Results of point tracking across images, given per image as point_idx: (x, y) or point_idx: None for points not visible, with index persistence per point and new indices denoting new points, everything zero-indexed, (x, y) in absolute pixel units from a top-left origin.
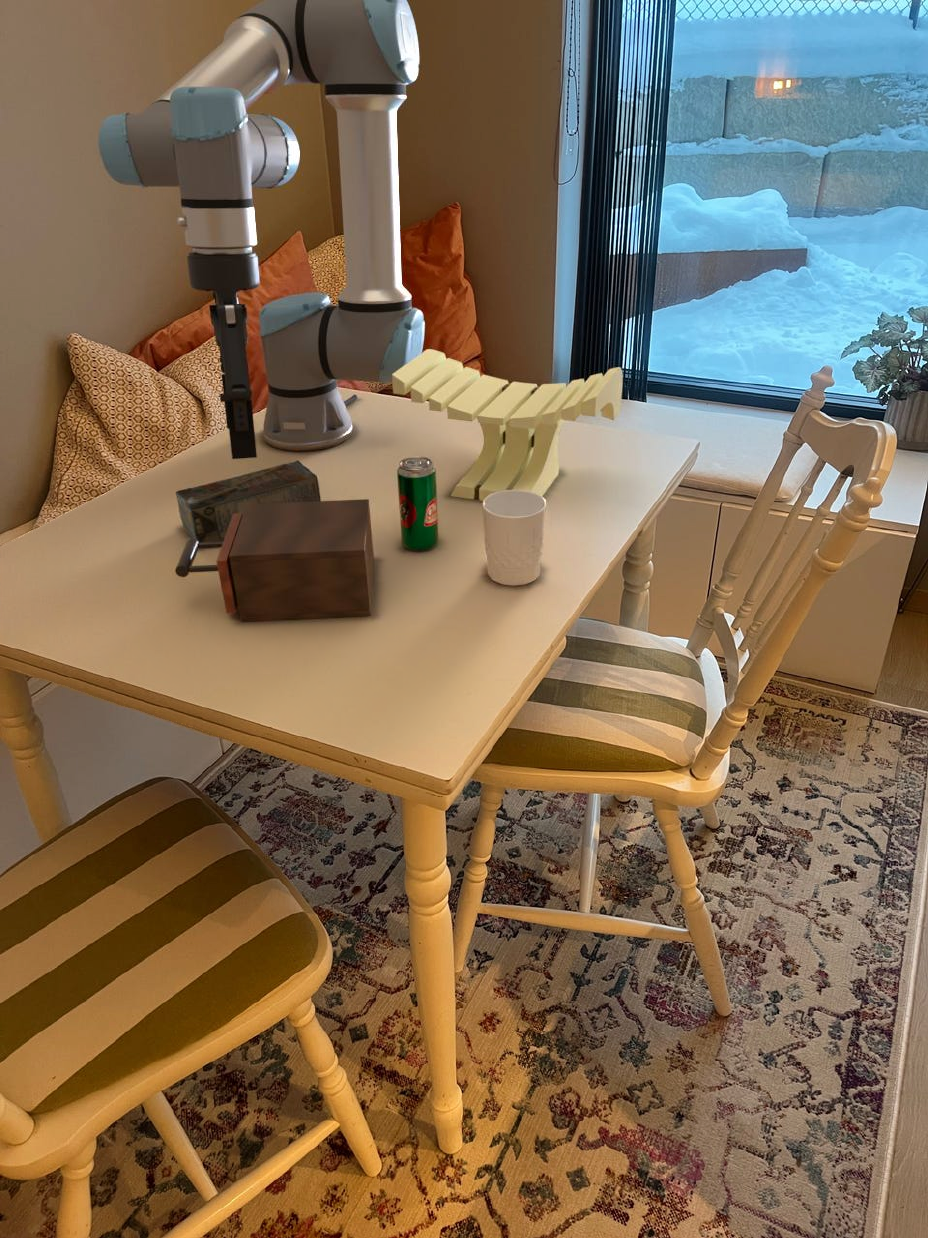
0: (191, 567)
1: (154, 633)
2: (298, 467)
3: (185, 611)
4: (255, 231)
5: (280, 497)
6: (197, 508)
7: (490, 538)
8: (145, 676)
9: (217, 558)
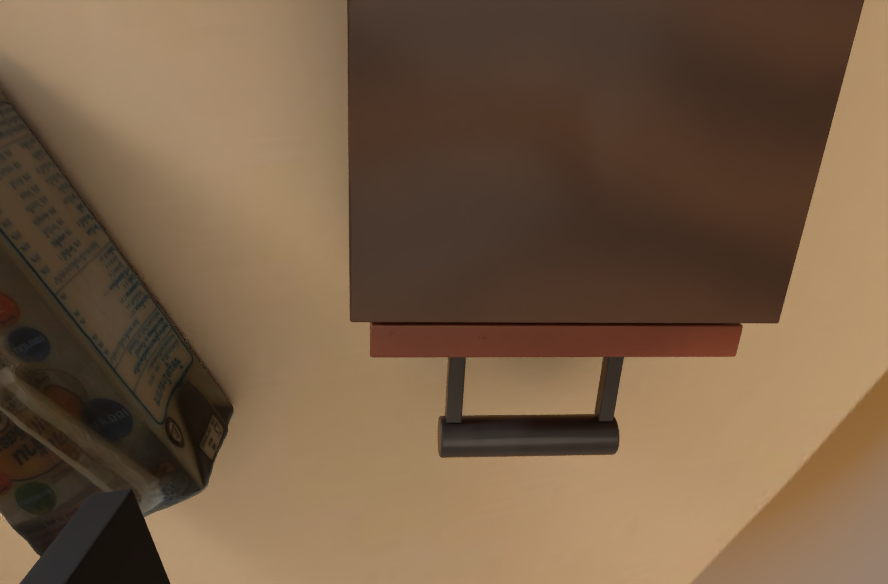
0: (609, 415)
1: (662, 423)
2: None
3: (578, 376)
4: None
5: (4, 194)
6: (189, 472)
7: None
8: (830, 404)
9: (719, 356)
